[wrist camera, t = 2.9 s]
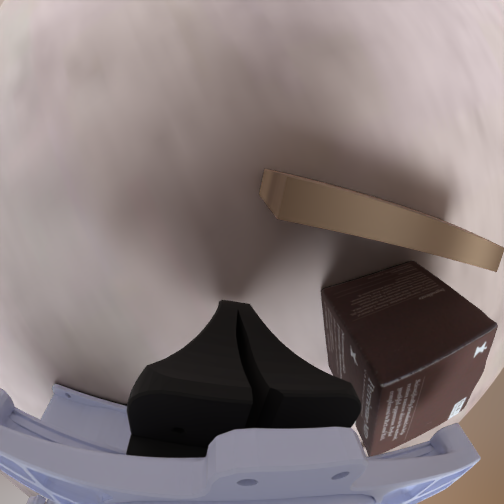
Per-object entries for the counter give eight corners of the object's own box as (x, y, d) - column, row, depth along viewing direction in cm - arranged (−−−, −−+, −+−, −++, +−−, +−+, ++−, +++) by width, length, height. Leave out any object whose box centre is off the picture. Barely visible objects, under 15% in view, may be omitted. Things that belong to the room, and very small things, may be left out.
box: (318, 285, 14) (380, 385, 7) (413, 256, 14) (502, 320, 7) (327, 367, 16) (366, 460, 9) (408, 338, 16) (466, 410, 9)
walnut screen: (258, 194, 12) (277, 219, 8) (264, 168, 12) (287, 176, 7) (438, 239, 14) (496, 272, 9) (444, 220, 14) (504, 248, 9)
